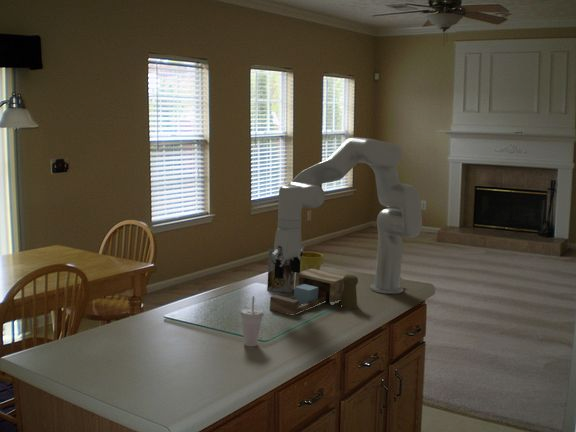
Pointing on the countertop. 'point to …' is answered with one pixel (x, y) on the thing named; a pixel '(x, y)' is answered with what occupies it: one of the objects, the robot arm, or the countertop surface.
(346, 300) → the cork
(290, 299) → the brown wooden frame
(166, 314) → the countertop surface
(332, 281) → the tan boxy piece
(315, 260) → the plant pot
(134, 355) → the countertop surface
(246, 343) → the smoothie
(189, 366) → the countertop surface
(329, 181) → the robot arm
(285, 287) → the coffee box
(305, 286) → the blue block
